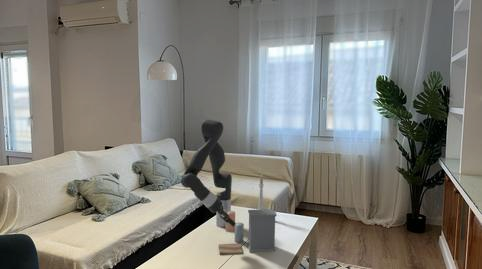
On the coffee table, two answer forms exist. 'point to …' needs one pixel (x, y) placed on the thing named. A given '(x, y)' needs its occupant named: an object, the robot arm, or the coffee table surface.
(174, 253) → the coffee table surface
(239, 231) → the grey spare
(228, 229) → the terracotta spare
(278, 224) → the coffee table surface
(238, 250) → the pad
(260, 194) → the candlestick
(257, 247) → the post
